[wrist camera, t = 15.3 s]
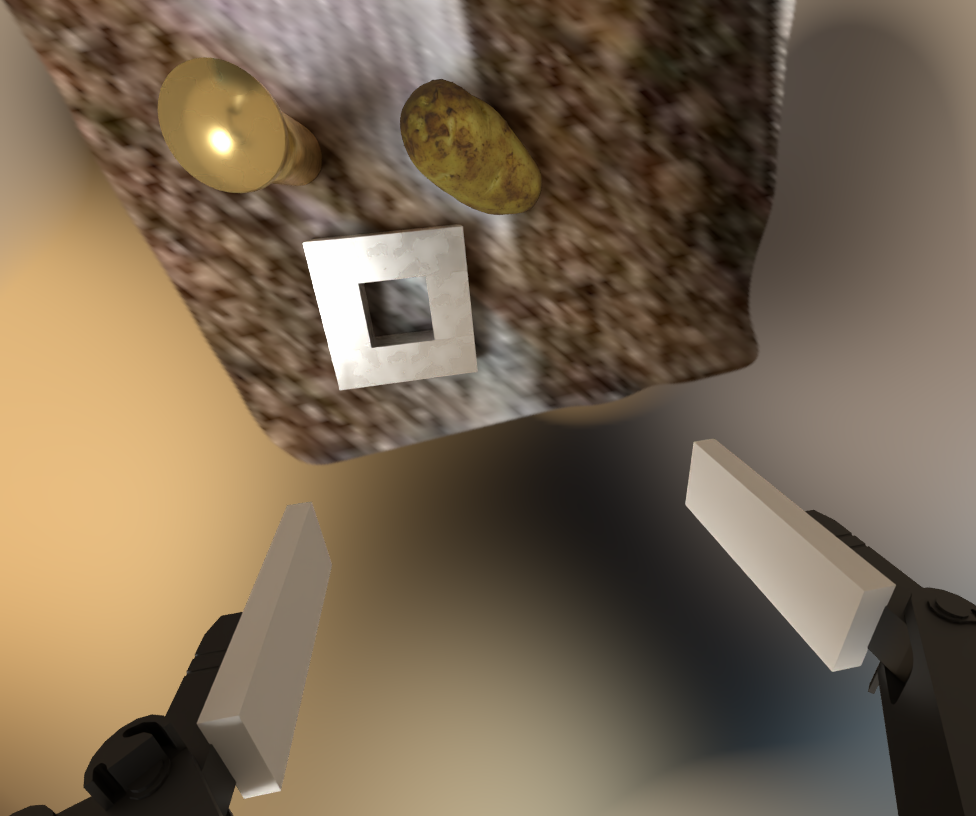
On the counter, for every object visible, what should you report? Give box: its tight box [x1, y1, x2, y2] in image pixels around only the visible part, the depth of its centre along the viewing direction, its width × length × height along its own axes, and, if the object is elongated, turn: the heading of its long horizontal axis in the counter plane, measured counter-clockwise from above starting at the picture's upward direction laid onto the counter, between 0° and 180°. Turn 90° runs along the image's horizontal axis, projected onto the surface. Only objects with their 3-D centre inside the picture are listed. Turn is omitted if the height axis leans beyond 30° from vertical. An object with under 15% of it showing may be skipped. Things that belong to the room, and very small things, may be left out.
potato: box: [400, 79, 542, 215], centre depth 38 cm, size 8×13×8 cm, turn 40°
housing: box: [303, 224, 478, 390], centre depth 44 cm, size 14×14×4 cm
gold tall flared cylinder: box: [158, 58, 322, 193], centre depth 32 cm, size 6×6×16 cm
